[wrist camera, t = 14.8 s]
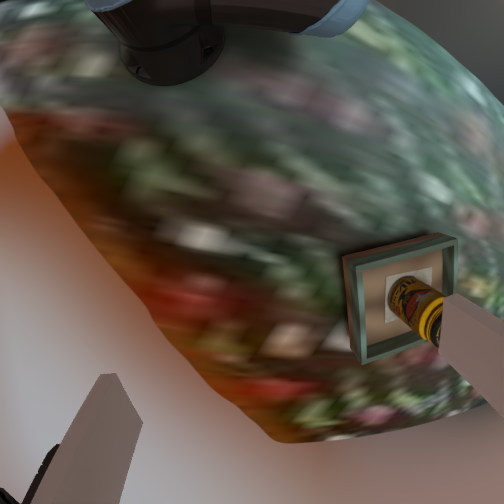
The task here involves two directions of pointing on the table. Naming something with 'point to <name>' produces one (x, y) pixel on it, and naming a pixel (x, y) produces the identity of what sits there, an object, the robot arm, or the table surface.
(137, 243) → the table surface
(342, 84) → the table surface
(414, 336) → the shallow square tray
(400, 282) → the condiment
